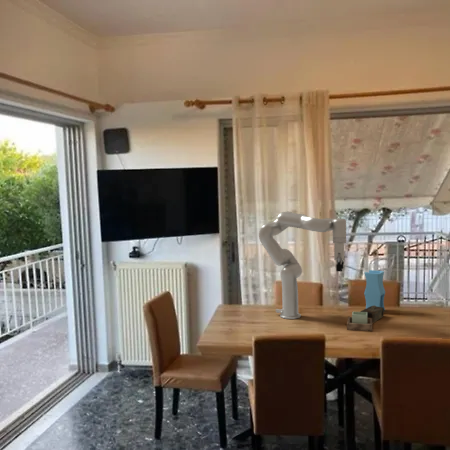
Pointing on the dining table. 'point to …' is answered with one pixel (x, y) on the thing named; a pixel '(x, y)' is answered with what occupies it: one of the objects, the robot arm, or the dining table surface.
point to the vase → (374, 288)
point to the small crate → (359, 317)
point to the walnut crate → (359, 325)
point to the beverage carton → (374, 312)
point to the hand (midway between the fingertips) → (339, 269)
